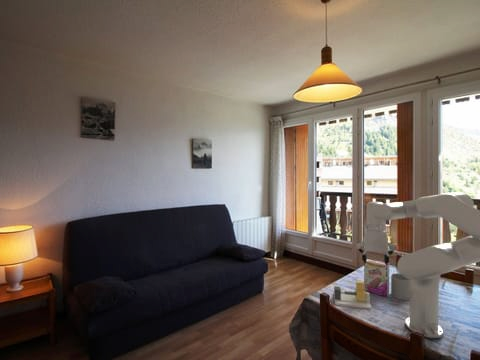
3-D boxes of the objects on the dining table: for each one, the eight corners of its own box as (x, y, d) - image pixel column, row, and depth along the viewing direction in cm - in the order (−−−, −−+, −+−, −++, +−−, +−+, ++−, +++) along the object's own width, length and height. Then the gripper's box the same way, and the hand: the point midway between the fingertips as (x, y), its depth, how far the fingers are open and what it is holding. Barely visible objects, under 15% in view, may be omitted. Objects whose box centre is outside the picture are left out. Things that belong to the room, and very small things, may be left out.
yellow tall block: (365, 301, 122) (365, 284, 122) (356, 300, 123) (356, 283, 123) (363, 296, 126) (363, 280, 126) (355, 296, 127) (355, 279, 127)
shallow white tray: (371, 309, 118) (371, 297, 118) (335, 304, 123) (335, 293, 123) (366, 297, 129) (366, 286, 129) (333, 294, 133) (333, 283, 133)
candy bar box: (363, 290, 136) (363, 260, 136) (366, 287, 140) (366, 258, 140) (387, 297, 129) (387, 265, 128) (389, 294, 132) (389, 263, 132)
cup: (413, 300, 125) (413, 280, 125) (395, 299, 127) (395, 279, 127) (405, 292, 134) (405, 274, 133) (388, 291, 135) (388, 273, 135)
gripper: (356, 228, 121) (356, 264, 121) (398, 230, 116) (398, 267, 116) (354, 225, 128) (354, 259, 128) (393, 226, 123) (393, 261, 123)
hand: (375, 263), depth 122 cm, fingers open, 8 cm apart
